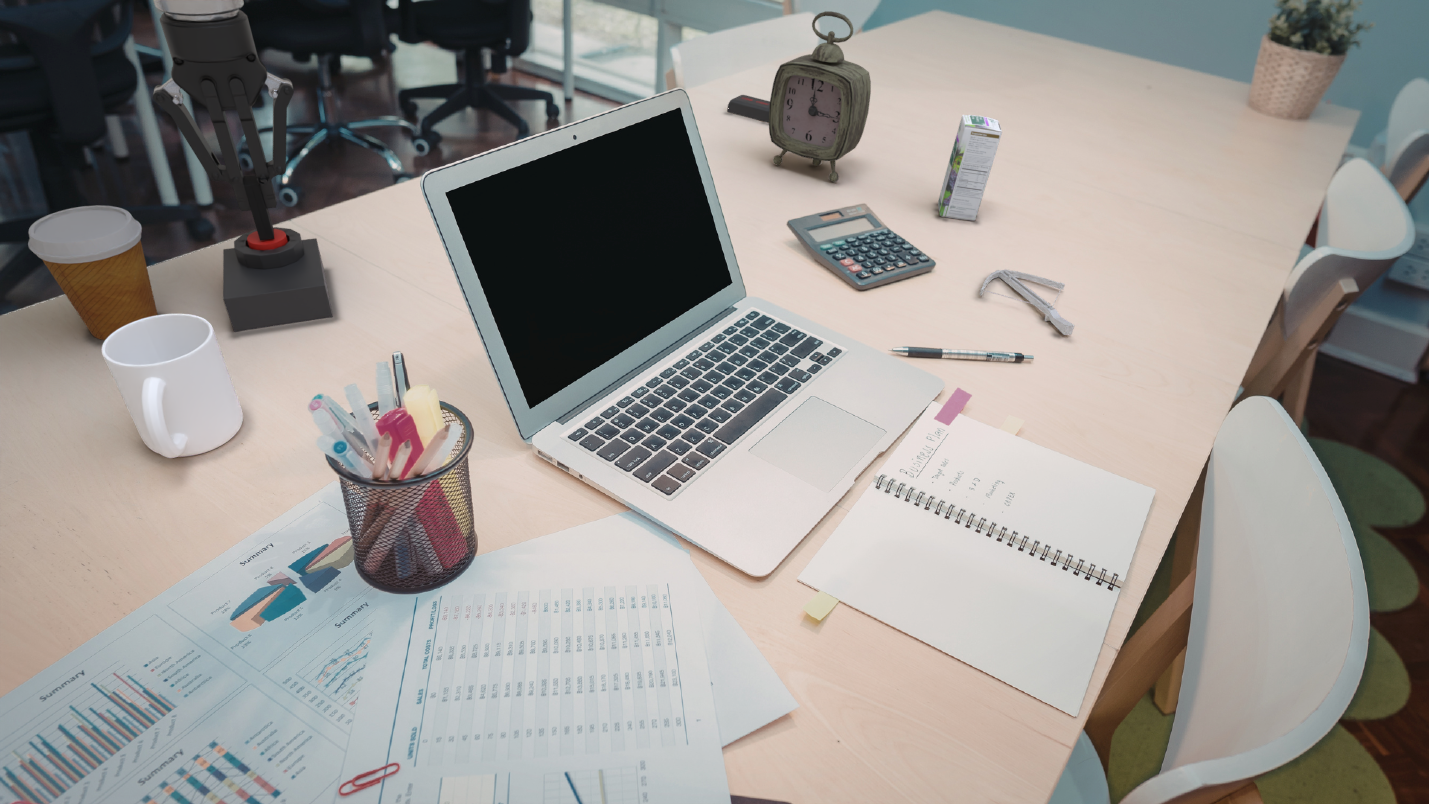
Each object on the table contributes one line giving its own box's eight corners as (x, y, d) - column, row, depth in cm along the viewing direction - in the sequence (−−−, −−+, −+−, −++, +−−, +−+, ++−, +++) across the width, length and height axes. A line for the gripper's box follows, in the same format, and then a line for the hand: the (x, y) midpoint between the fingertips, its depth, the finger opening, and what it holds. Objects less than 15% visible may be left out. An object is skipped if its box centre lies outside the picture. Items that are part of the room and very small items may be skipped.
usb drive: (739, 105, 164) (741, 91, 162) (792, 119, 160) (794, 105, 158) (727, 111, 160) (728, 97, 159) (780, 126, 156) (782, 111, 154)
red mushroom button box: (233, 279, 97) (218, 233, 94) (323, 267, 101) (312, 222, 98) (234, 332, 89) (217, 284, 85) (332, 317, 93) (321, 270, 89)
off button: (251, 247, 95) (246, 231, 94) (289, 242, 96) (284, 226, 95) (252, 262, 92) (247, 246, 91) (290, 257, 94) (286, 241, 92)
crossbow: (958, 282, 112) (962, 269, 111) (1037, 277, 115) (1042, 264, 114) (1023, 339, 99) (1027, 324, 98) (1110, 331, 103) (1115, 317, 101)
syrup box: (936, 202, 132) (959, 112, 123) (973, 207, 132) (999, 117, 123) (938, 217, 127) (963, 125, 119) (976, 222, 127) (1004, 130, 118)
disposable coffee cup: (148, 293, 94) (109, 195, 86) (193, 323, 89) (155, 223, 82) (56, 326, 87) (4, 223, 80) (98, 360, 83) (48, 255, 76)
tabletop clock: (762, 165, 139) (780, 7, 124) (786, 151, 146) (806, -1, 130) (838, 188, 134) (867, 25, 119) (860, 172, 140) (890, 16, 125)
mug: (230, 481, 71) (193, 387, 65) (122, 494, 69) (72, 398, 63) (252, 399, 80) (221, 309, 74) (156, 408, 78) (116, 317, 72)
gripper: (119, 23, 73) (201, 257, 88) (278, 18, 78) (331, 241, 93) (126, 3, 79) (202, 227, 93) (275, 1, 84) (325, 214, 98)
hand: (266, 234), depth 93 cm, fingers closed
